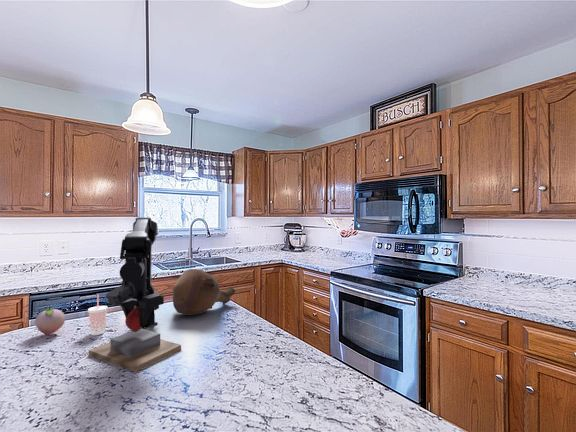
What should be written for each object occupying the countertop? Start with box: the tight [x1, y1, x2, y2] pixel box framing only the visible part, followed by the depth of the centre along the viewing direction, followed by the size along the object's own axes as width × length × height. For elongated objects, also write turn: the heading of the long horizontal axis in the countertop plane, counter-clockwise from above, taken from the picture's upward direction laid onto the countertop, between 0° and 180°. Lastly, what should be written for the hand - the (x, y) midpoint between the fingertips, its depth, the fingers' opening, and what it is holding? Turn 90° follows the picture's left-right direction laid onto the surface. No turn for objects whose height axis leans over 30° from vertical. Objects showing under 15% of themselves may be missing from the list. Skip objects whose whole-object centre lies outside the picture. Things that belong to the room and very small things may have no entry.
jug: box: [172, 268, 236, 316], centre depth 135 cm, size 20×20×30 cm
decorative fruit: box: [34, 306, 66, 336], centre depth 108 cm, size 9×8×10 cm
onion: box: [125, 306, 142, 332], centre depth 94 cm, size 6×6×8 cm
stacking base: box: [88, 328, 182, 373], centre depth 94 cm, size 22×16×5 cm
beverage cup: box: [87, 293, 108, 336], centre depth 110 cm, size 6×6×14 cm
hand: (136, 325), depth 94 cm, fingers closed on onion, 6 cm apart
